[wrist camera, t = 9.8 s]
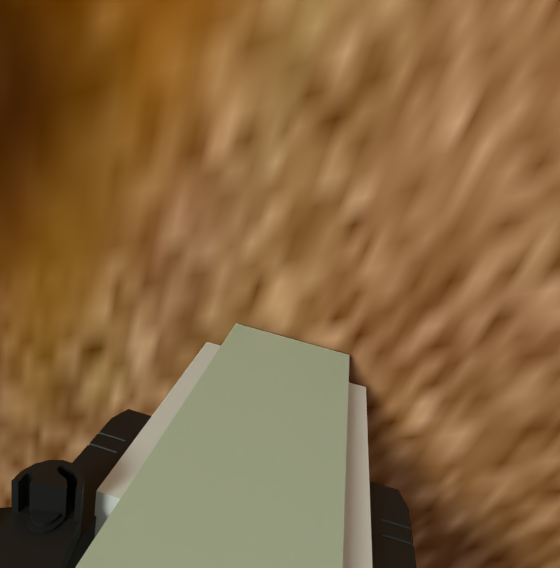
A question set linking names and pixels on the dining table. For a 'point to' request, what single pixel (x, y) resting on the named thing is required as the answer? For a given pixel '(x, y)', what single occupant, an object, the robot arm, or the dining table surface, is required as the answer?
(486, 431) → the dining table surface
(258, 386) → the sage green mallet
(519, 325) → the dining table surface
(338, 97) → the dining table surface
